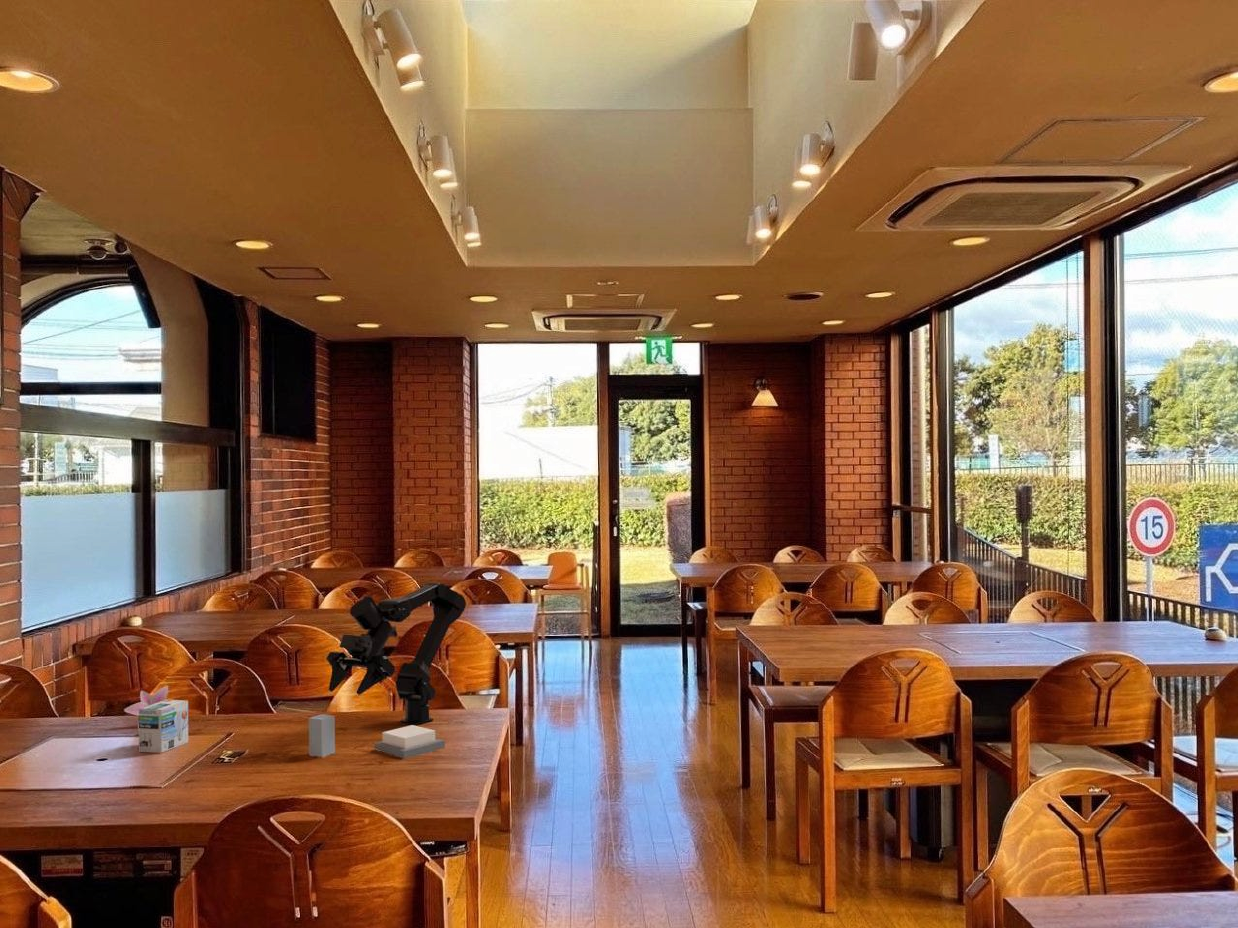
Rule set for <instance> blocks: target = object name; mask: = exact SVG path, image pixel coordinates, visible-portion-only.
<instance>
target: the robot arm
mask: <svg viewBox="0 0 1238 928" xmlns="http://www.w3.org/2000/svg"><path fill="white" fill-rule="evenodd" d="M428 603H430V604H431V605H433V607H432V611H433V613H432V614H433V616H434V617H433V618H432V619H433V620H432V622H431V623H430V625H429V627H428V629H427V630H426V631H427V632H426V633H425V635H424V638H423V639H422V642H421V643H420V646H419V648H418V650H417V652H416V654H415V656H414V658H413V660H412V661H411V662H403V664H402V665H401V666H400V669H399V671H398V673H397V674H396V680H395V687H396V692H397V695H398V698H399V700H405V701H404V706H405V707H404V708H405V713H404V715H405V716H404V717H405V718H402V719H400V722H401V723H405V724H409V725H414V726H417V725H419V724H424V723H429V722H432V721H434V718H433V717H430V705H429V704H430V703H429V701H432V700H433V699H434V698H435V695H436V689H435V688H434V687H433V686H432V684H431V683H430V681H431V678H432V677H431V666H432V663H433V661H434V660H435V657H436V655H437V653H438V651H439V649H440V647H441V644H442V642H443V641H444V638H445V637H446V634H447V632H448V630H449V628H450V626H451V624H454V623H455V622H456V621H457V620H459V618H460V617H461V616H462V614H463V612H464V611H465V609H466V605H467V601H466V599H465V597H464V595H462V594H461V593H459V592H458V591H456V590H453V589H452V588H449V587H448V586H446V585H445V584H444V583H442V582H433V581H432V582H428V583H426V584H425V585H423V586H421V587H419V588H417V589H415V590H413V591H411V592H409V593H407V594H405V595H403V596H400V597H391V598H386V599H381V600H380V601H379V602H378V604H377V603H376V601H374V598H373V597H372V596H366V595H365V596H364V597H363V598H362V599H360V600H359V601H357V602H355V603H354V604H353V605H352V606H351V607H350V610H349V614H350V616H351V617H352V618H353V619H354V620H355V622H356V623H357V624H358V626H360V628H361V629H362V630H366V633H361V634H360V635H356V634H355V635H354V634H342V637H341V641H340V642H339V643H340V644H339V648H342V649H345V650H347V651H348V652H347V653H348V654H349V656H352V657H348V655H346V654H345V651H336V650H335V651H334V650H333V651H330V652H329V653H328V654H327V656H326V657H325V659H326V661H327V662H328V664H329V665H330V666H331V674H330V675H331V676H330V681H329V685H328V690H329V692H333V691H335V689H337V688H338V687H339V685H340V684H341V683H342V682H343V681H344V680H345V679H346V678H347V677H348V675H349V672H350V671H351V670H352V668H353V667H354V668H356V667H357V668H362V669H363V668H364V669H366V673H365V674H364V676H363V678H362V680H361V681H360V684H359V685H358V688H357V690H356V694H357V695H358V696H360V695H362V694H363V693H365V692H366V691H368V690H370V689H371V688H372V687H374V686H375V685H377V684H379V683H380V682H382V681H384V680H387V679H388V678H392V676H394V673H395V671H396V667H395V665H394V664H393V662H392V661H391V660H390V659H389V658H388V657H387V656H386V655H384V654H385V652H386V651H385V650H384V647H385V646H386V644H387V642H388V641H389V639H390V637H392V638H397V637H398V632H397V628H396V626H394V625H392V624H391V623H402V622H404V621H405V620H406V619H407V618H409V617H410V616H411V614H412V612H413V611H414V610H416V609H418V608H420V607H422V606H424V605H426V604H428Z"/></svg>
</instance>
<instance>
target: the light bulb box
mask: <svg viewBox="0 0 1238 928" xmlns="http://www.w3.org/2000/svg"><path fill="white" fill-rule="evenodd" d="M138 723H139V729H138V752H139V753H152V754H153V753H154V754H155V753H156V754H163V753H164V752H167V751H170V750H172V749H175V748H178V747H181V746H182V745H185V744H188V743H189V700H180V699H166V700H164V701H161V702H158V703H155V704H152V705H149V706H146V707H143V708H140V709H139V716H138Z"/></svg>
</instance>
